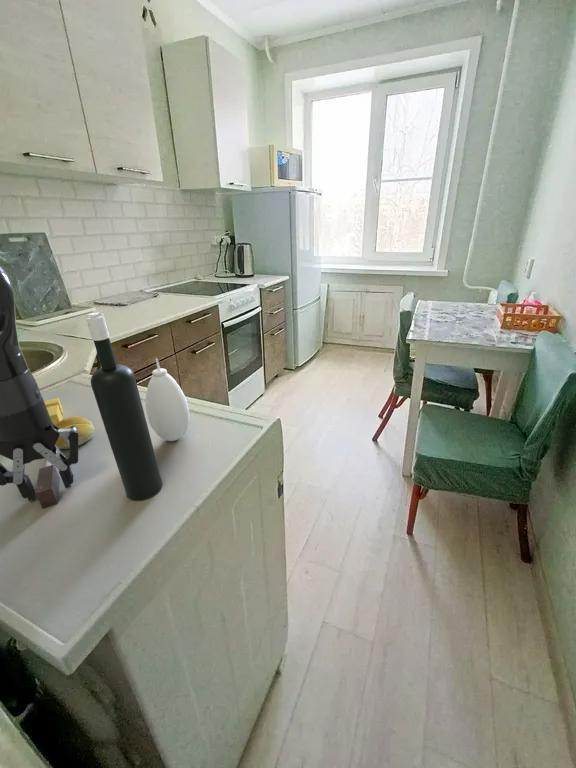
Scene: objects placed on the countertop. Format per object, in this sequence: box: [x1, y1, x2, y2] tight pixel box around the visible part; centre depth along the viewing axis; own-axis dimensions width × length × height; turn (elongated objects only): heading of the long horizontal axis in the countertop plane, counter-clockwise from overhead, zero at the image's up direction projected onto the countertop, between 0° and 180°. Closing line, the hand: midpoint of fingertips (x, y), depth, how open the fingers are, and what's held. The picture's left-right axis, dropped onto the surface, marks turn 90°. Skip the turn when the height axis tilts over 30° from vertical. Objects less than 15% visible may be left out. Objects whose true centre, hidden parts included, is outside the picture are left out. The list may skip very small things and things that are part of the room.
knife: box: [35, 459, 61, 509], centre depth 63 cm, size 16×2×3 cm, turn 29°
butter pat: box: [44, 397, 64, 416], centre depth 83 cm, size 2×4×4 cm, turn 118°
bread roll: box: [55, 416, 96, 450], centre depth 74 cm, size 8×9×4 cm
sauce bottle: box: [145, 357, 191, 442], centre depth 69 cm, size 8×8×18 cm
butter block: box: [47, 405, 64, 425], centre depth 79 cm, size 5×4×4 cm
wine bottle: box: [84, 311, 163, 502], centre depth 53 cm, size 6×6×30 cm
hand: (50, 490), depth 59 cm, fingers open, 4 cm apart
